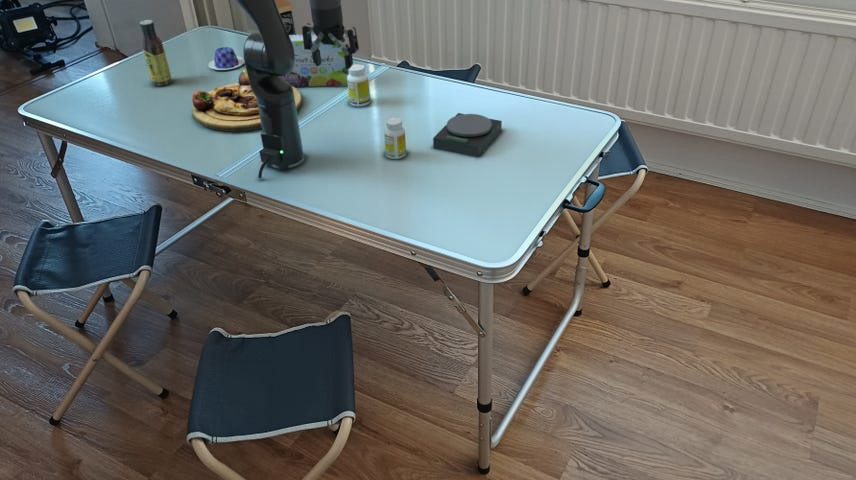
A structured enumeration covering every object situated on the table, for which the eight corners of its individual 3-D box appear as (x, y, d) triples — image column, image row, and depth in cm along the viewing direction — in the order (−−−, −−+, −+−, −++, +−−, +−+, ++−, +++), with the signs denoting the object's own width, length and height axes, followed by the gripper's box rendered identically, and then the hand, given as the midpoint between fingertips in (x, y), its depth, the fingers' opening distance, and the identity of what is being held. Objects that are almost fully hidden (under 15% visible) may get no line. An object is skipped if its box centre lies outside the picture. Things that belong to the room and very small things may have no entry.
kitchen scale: (478, 157, 188) (478, 142, 185) (433, 147, 192) (432, 133, 190) (501, 130, 199) (501, 116, 196) (458, 122, 204) (458, 108, 201)
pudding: (219, 75, 236) (216, 59, 233) (202, 65, 244) (198, 49, 241) (251, 64, 243) (248, 49, 239) (234, 55, 250) (231, 40, 247)
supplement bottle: (386, 160, 188) (383, 126, 182) (385, 150, 192) (382, 117, 186) (407, 158, 188) (404, 124, 182) (405, 148, 192) (403, 115, 187)
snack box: (281, 88, 226) (273, 40, 217) (284, 81, 231) (276, 34, 222) (349, 86, 226) (344, 38, 217) (351, 79, 230) (346, 32, 221)
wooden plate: (181, 136, 203) (174, 108, 198) (206, 89, 228) (200, 63, 223) (296, 130, 203) (291, 103, 198) (307, 84, 228) (304, 58, 223)
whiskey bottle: (276, 71, 237) (258, -31, 217) (261, 63, 243) (243, -37, 224) (303, 63, 242) (288, -38, 222) (288, 55, 248) (272, -44, 229)
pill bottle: (372, 98, 218) (368, 63, 211) (368, 107, 213) (365, 71, 207) (351, 98, 219) (347, 62, 212) (347, 107, 214) (343, 71, 207)
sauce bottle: (151, 81, 234) (133, 19, 222) (170, 77, 236) (154, 16, 224) (154, 88, 229) (136, 26, 217) (174, 84, 231) (157, 22, 219)
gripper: (292, 6, 176) (302, 69, 187) (345, 10, 173) (353, 75, 183) (306, -4, 182) (315, 58, 192) (358, 0, 178) (364, 63, 188)
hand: (333, 66), depth 187 cm, fingers open, 8 cm apart
